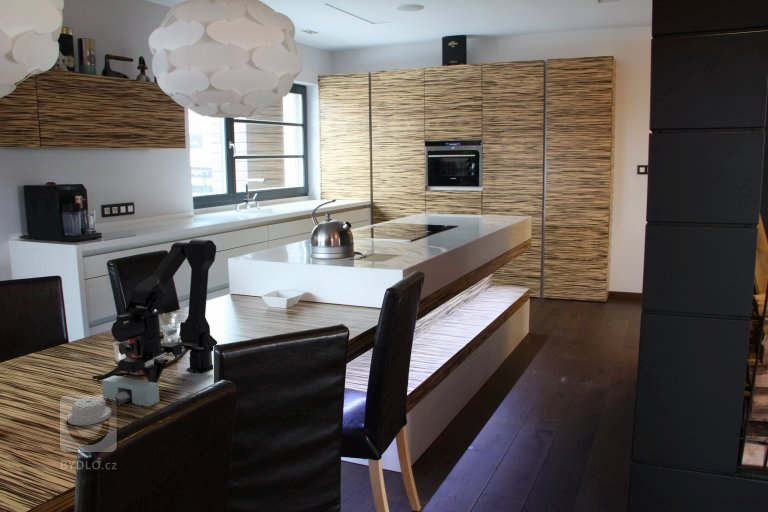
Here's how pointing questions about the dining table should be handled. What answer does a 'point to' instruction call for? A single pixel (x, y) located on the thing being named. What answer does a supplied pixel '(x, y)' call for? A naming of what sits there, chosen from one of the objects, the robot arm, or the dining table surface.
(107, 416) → the mechanical component
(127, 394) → the pin
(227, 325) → the dining table surface
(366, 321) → the dining table surface
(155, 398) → the block
